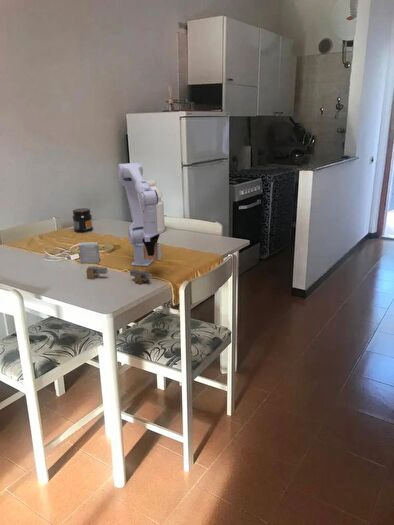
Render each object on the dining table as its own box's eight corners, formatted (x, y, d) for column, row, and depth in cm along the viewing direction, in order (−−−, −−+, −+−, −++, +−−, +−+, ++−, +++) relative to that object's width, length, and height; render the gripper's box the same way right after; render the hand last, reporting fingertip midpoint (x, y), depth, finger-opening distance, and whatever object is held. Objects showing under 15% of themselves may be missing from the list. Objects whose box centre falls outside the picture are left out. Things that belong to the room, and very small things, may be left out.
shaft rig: (91, 274, 178) (90, 265, 176) (155, 278, 172) (154, 269, 170) (83, 280, 171) (82, 271, 170) (149, 285, 165) (149, 275, 164)
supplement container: (97, 229, 245) (94, 209, 241) (83, 234, 237) (81, 212, 232) (84, 227, 250) (81, 207, 246) (70, 231, 242) (67, 210, 238)
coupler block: (145, 256, 176) (144, 242, 174) (161, 257, 175) (161, 243, 173) (142, 259, 173) (141, 245, 171) (159, 260, 172) (158, 245, 170)
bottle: (135, 234, 234) (131, 182, 224) (145, 227, 246) (142, 178, 237) (159, 235, 230) (156, 183, 220) (168, 229, 242) (166, 179, 233)
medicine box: (100, 259, 195) (98, 241, 192) (98, 263, 191) (96, 244, 188) (82, 260, 195) (80, 242, 192) (80, 263, 190) (78, 245, 187)
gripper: (144, 216, 176) (146, 248, 180) (135, 225, 162) (138, 259, 167) (160, 216, 175) (162, 248, 180) (154, 225, 162) (156, 259, 166)
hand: (152, 253), depth 173 cm, fingers closed on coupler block, 4 cm apart
